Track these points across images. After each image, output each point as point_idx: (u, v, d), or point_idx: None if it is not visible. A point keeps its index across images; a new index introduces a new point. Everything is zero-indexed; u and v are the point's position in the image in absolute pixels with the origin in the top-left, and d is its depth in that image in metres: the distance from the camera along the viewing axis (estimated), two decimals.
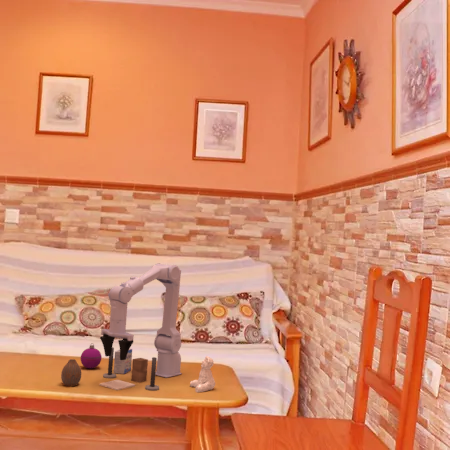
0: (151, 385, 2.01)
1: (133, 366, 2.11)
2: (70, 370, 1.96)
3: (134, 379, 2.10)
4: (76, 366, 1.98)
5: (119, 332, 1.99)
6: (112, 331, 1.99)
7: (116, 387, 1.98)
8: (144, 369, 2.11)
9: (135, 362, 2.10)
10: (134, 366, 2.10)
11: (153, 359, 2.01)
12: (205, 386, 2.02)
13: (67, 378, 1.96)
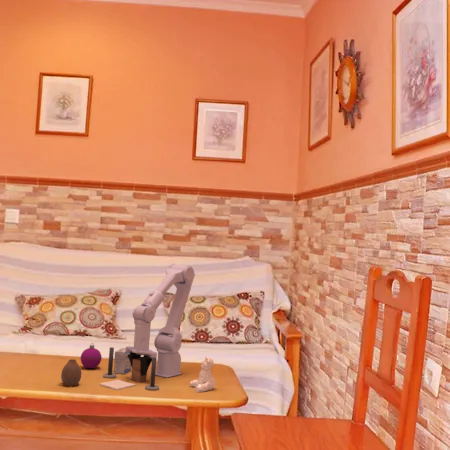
0: (151, 385, 2.01)
1: (133, 366, 2.11)
2: (70, 370, 1.96)
3: (134, 379, 2.10)
4: (76, 366, 1.98)
5: (143, 350, 2.09)
6: (136, 349, 2.09)
7: (116, 387, 1.98)
8: None
9: (135, 362, 2.10)
10: (134, 366, 2.10)
11: (153, 359, 2.01)
12: (205, 386, 2.02)
13: (67, 378, 1.96)
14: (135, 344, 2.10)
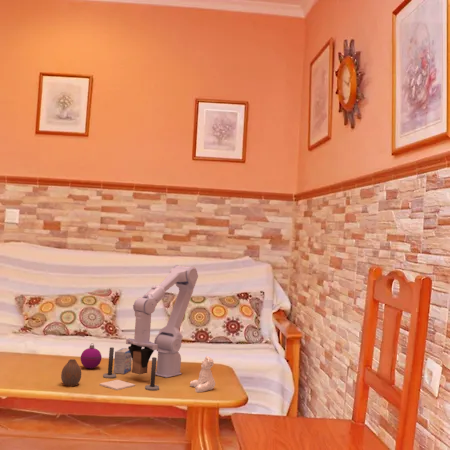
0: (151, 385, 2.01)
1: (134, 358, 2.11)
2: (70, 370, 1.96)
3: (135, 371, 2.10)
4: (76, 366, 1.98)
5: (144, 342, 2.09)
6: (137, 341, 2.09)
7: (116, 387, 1.98)
8: None
9: (136, 354, 2.10)
10: (135, 358, 2.10)
11: (153, 359, 2.01)
12: (205, 386, 2.02)
13: (67, 378, 1.96)
14: (136, 336, 2.10)
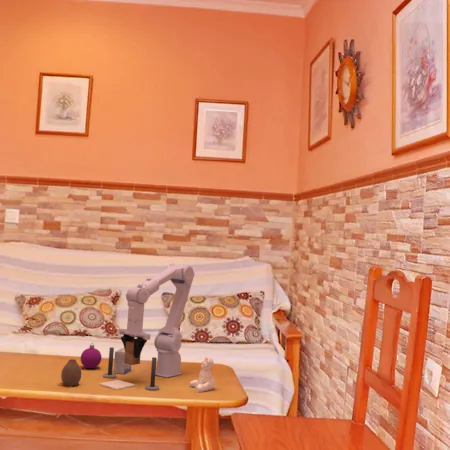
0: (151, 385, 2.01)
1: (126, 348, 2.07)
2: (70, 370, 1.96)
3: (127, 362, 2.07)
4: (76, 366, 1.98)
5: (136, 332, 2.06)
6: (130, 331, 2.06)
7: (116, 387, 1.98)
8: None
9: (128, 344, 2.07)
10: (127, 348, 2.07)
11: (153, 359, 2.01)
12: (205, 386, 2.02)
13: (67, 378, 1.96)
14: (128, 326, 2.07)
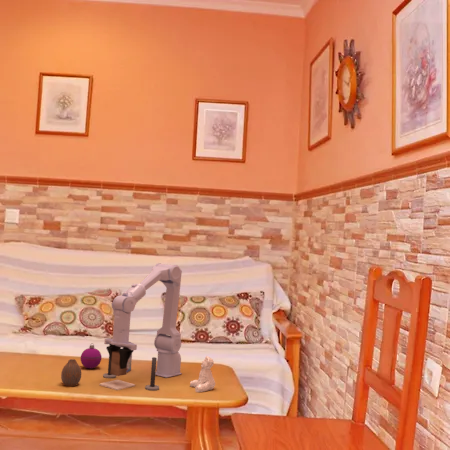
0: (151, 385, 2.01)
1: (112, 359, 2.02)
2: (70, 370, 1.96)
3: (113, 372, 2.01)
4: (76, 366, 1.98)
5: (122, 342, 2.00)
6: (115, 341, 2.00)
7: (116, 387, 1.98)
8: None
9: (114, 355, 2.01)
10: (113, 359, 2.02)
11: (153, 359, 2.01)
12: (205, 386, 2.02)
13: (67, 378, 1.96)
14: (114, 336, 2.01)
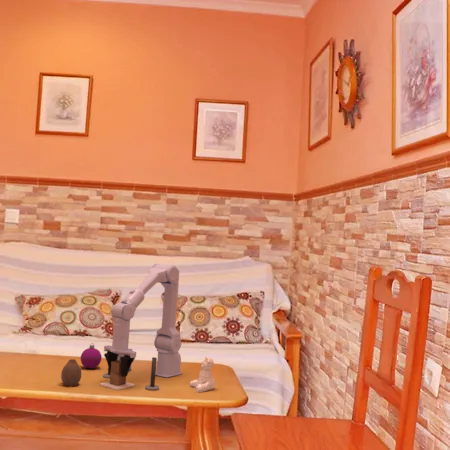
0: (151, 385, 2.01)
1: (112, 369, 2.02)
2: (70, 370, 1.96)
3: (112, 382, 2.01)
4: (76, 366, 1.98)
5: (122, 349, 2.00)
6: (115, 348, 2.00)
7: (116, 387, 1.98)
8: None
9: (114, 364, 2.01)
10: (113, 369, 2.02)
11: (153, 359, 2.01)
12: (205, 386, 2.02)
13: (67, 378, 1.96)
14: (113, 343, 2.01)
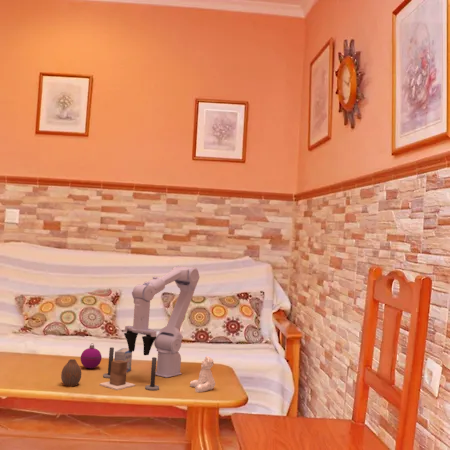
0: (151, 385, 2.01)
1: (112, 369, 2.02)
2: (70, 370, 1.96)
3: (112, 382, 2.01)
4: (76, 366, 1.98)
5: (143, 328, 2.08)
6: (136, 328, 2.09)
7: (116, 387, 1.98)
8: (123, 371, 2.02)
9: (114, 364, 2.01)
10: (113, 369, 2.02)
11: (153, 359, 2.01)
12: (205, 386, 2.02)
13: (67, 378, 1.96)
14: (134, 323, 2.09)
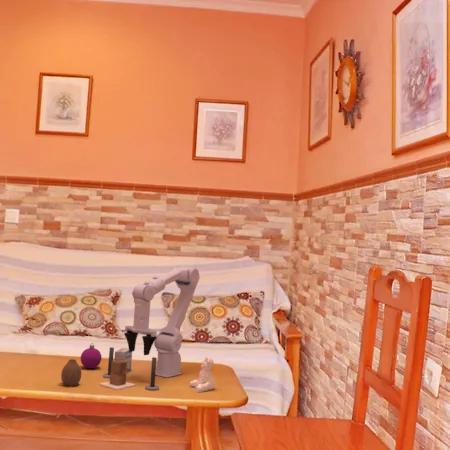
0: (151, 385, 2.01)
1: (112, 369, 2.02)
2: (70, 370, 1.96)
3: (112, 382, 2.01)
4: (76, 366, 1.98)
5: (143, 328, 2.09)
6: (136, 327, 2.09)
7: (116, 387, 1.98)
8: (123, 371, 2.02)
9: (114, 364, 2.01)
10: (113, 369, 2.02)
11: (153, 359, 2.01)
12: (205, 386, 2.02)
13: (67, 378, 1.96)
14: (135, 323, 2.09)
